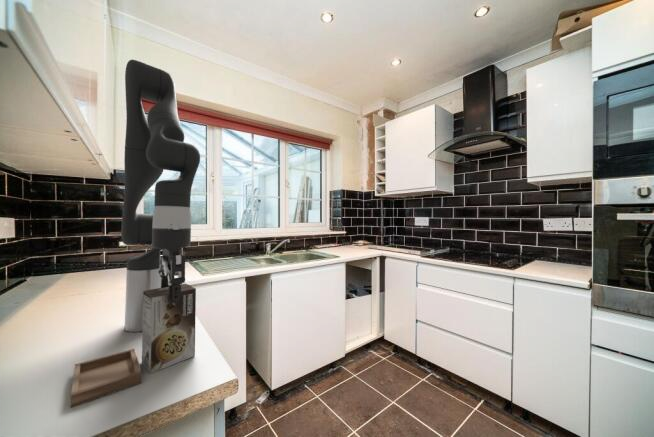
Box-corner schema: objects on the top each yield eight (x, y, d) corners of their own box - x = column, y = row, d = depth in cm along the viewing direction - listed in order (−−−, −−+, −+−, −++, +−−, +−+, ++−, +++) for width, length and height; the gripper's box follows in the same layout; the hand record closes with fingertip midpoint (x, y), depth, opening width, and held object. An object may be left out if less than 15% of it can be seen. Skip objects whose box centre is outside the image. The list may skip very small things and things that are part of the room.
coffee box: (184, 347, 62) (186, 282, 62) (195, 356, 58) (197, 287, 58) (140, 362, 55) (142, 290, 55) (149, 374, 51) (151, 296, 51)
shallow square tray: (74, 374, 51) (75, 364, 51) (134, 357, 57) (134, 348, 57) (70, 407, 42) (71, 395, 42) (141, 383, 48) (141, 372, 48)
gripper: (147, 226, 60) (145, 294, 59) (158, 227, 49) (156, 309, 49) (182, 226, 65) (181, 288, 64) (199, 227, 54) (197, 301, 54)
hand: (170, 297), depth 57 cm, fingers open, 8 cm apart
